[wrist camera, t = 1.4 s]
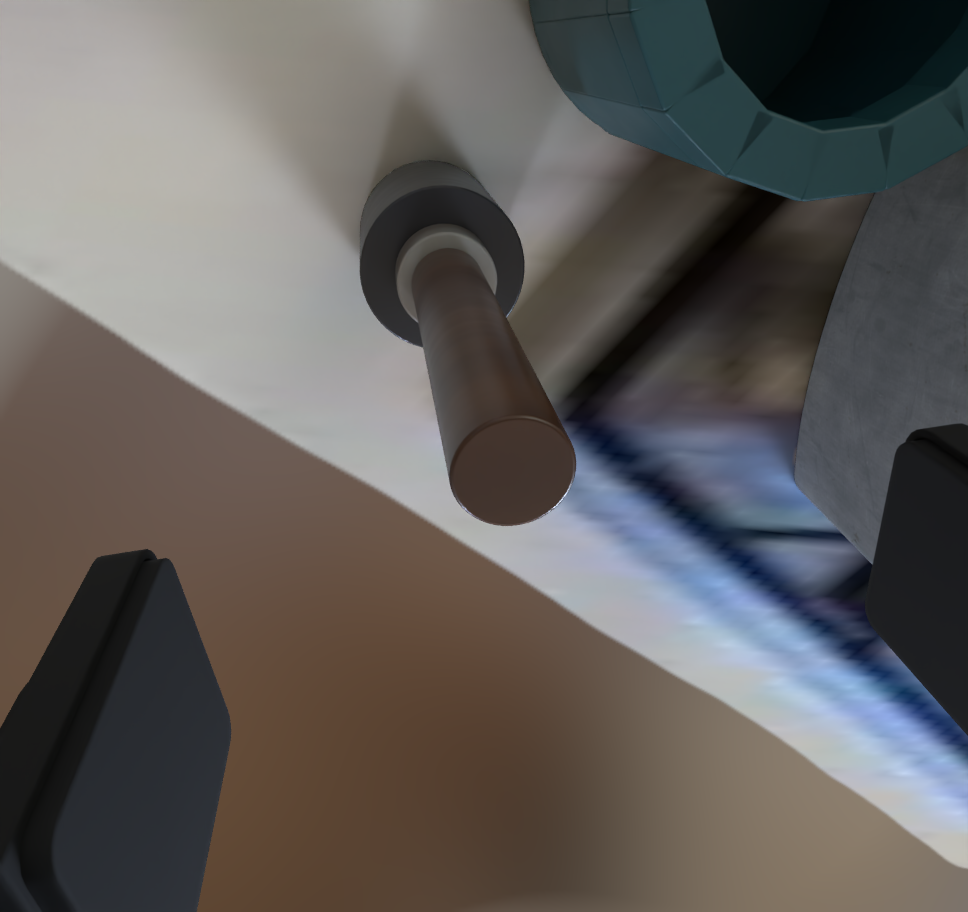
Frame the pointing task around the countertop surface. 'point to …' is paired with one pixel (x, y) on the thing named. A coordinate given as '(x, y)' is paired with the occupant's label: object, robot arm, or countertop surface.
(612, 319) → the countertop surface
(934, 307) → the hip flask
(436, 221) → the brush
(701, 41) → the jar
